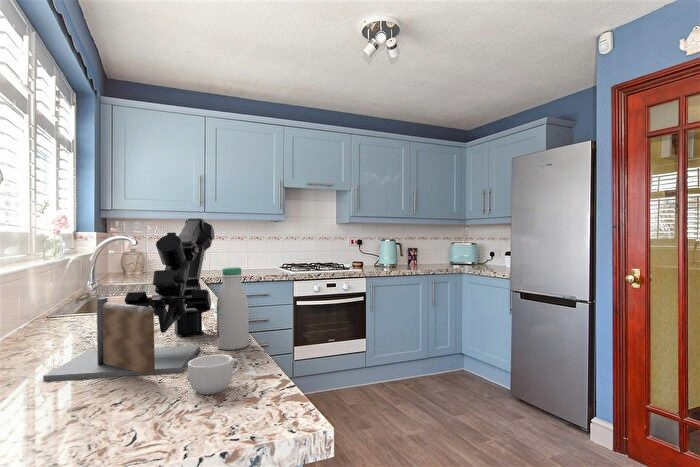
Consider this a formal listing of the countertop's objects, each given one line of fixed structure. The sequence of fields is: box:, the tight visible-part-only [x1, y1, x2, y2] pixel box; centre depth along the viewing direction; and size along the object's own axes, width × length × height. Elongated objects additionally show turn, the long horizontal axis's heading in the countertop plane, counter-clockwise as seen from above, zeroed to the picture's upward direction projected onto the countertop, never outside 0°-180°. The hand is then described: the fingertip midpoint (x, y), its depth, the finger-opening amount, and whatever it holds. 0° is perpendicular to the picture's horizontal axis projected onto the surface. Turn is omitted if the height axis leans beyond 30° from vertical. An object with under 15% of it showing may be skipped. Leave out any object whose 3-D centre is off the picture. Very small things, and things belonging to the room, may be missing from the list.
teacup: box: [187, 353, 241, 396], centre depth 76 cm, size 10×8×5 cm
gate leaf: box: [102, 302, 155, 375], centre depth 85 cm, size 15×2×13 cm, turn 60°
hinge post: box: [96, 297, 108, 365], centre depth 89 cm, size 2×2×14 cm
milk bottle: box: [216, 266, 250, 351], centre depth 106 cm, size 8×8×20 cm
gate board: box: [42, 344, 201, 382], centre depth 93 cm, size 26×18×1 cm
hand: (162, 331), depth 95 cm, fingers closed
